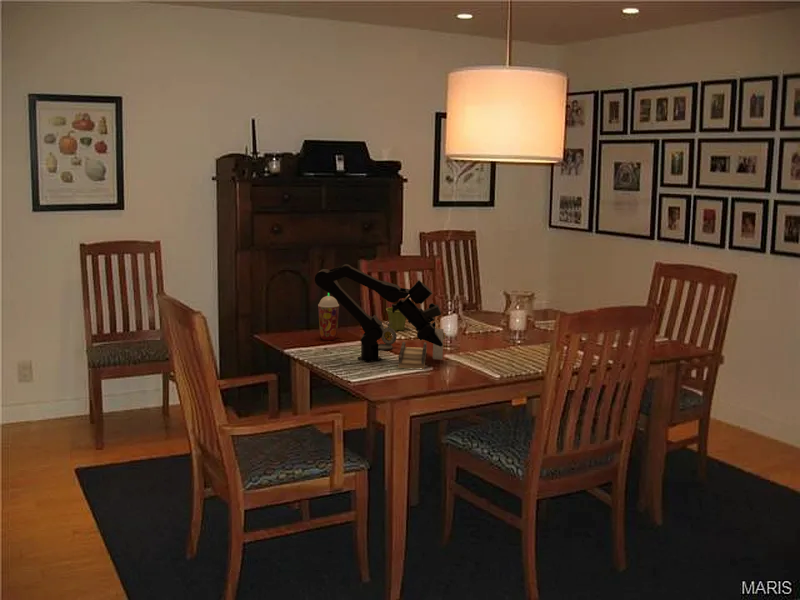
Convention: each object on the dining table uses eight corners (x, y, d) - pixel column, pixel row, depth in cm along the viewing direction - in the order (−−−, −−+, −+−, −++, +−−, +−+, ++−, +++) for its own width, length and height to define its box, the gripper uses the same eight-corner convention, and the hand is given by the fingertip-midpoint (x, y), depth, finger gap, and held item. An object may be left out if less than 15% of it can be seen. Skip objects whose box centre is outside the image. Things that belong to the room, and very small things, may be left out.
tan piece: (424, 369, 297) (424, 358, 296) (398, 368, 297) (398, 357, 297) (426, 352, 320) (426, 342, 320) (402, 352, 321) (402, 341, 320)
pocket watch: (375, 350, 323) (375, 324, 321) (374, 345, 331) (375, 320, 329) (396, 350, 323) (397, 324, 321) (396, 345, 332) (396, 320, 330)
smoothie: (319, 336, 345) (319, 287, 342) (340, 336, 345) (340, 287, 341) (316, 340, 337) (316, 290, 334) (337, 341, 337) (338, 291, 333)
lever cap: (432, 359, 306) (433, 331, 304) (433, 355, 311) (433, 328, 309) (444, 359, 306) (445, 332, 304) (444, 356, 310) (445, 329, 309)
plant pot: (412, 328, 361) (412, 308, 360) (400, 332, 353) (400, 312, 352) (393, 326, 366) (394, 306, 364) (381, 330, 358) (381, 309, 357)
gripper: (427, 302, 295) (458, 334, 297) (429, 292, 314) (458, 323, 315) (404, 324, 297) (435, 356, 299) (407, 313, 315) (436, 343, 317)
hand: (442, 343), depth 307 cm, fingers closed on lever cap, 5 cm apart
